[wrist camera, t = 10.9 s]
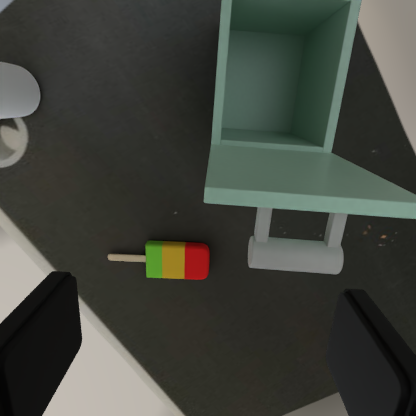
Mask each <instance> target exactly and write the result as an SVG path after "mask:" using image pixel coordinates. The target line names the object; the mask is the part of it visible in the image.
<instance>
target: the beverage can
mask: <svg viewBox="0 0 416 416" xmlns="http://www.w3.org/2000/svg"><path fill="white" fill-rule="evenodd" d="M39 102H40V89H39V86H38V83H37V81H36V80H35V78H34V77H33V76H32V74H31V73H30V72H29V71H27V70H26V69H24V68H22V67H20V66H18V65H14V64H9V63H4V62H0V119H4V118H16V117H24V116H27V115H30V114H32V113H33V112H34V111H35V110H36V109H37V107H38V105H39Z"/></svg>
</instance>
